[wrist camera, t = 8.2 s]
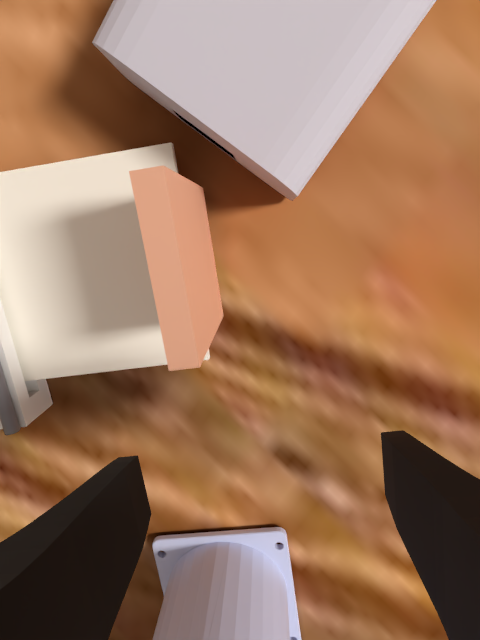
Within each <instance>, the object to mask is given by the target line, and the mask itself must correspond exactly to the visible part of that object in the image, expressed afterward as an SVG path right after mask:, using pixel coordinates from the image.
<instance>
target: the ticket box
mask: <svg viewBox="0 0 480 640" xmlns="http://www.w3.org/2000/svg"><path fill="white" fill-rule="evenodd" d="M51 405H53V402H52V399H51V395H50V391H49V388H48V384H47V381H46V379H40V380H32V381H24V377H23V374H22V370H21V367H20V364H19V360H18V357H17V353H16V350H15V347H14V343H13V340H12V336H11V333H10V330H9V326H8V323H7V319H6V316H5V312H4V309H3V306H2V302H1V299H0V429H3V430H4V433H5V435H11V434H14V433H16V432H18V431H19V430H20V429H21V428H20V427H27V426H28V425H29V424H30V423H31V422H32V421H34V420H35V419H36V418H37V417H38V416H40V415H41V414H42V413H43V412H44V411H45V410H47V409H48V408H49V407H50V406H51Z"/></svg>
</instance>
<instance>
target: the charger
mask: <svg viewBox="0 0 480 640" xmlns="http://www.w3.org/2000/svg"><path fill="white" fill-rule="evenodd" d="M435 2H436V0H113V2H112V4H111V6H110V8H109V10H108V12H107V14H106V16H105V18H104V20H103V22H102V24H101V26H100V28H99V30H98V32H97V34H96V36H95V38H94V40H93V42H92V43H93V44H94V45H95V47H96V48H97V49H98V50H99V51H100V52H101V53H102V54H103V55H104V56H105V57H106V58H107V59H108V60H109V61H110V62H111V63H112V64H113V65H114V66H115V67H116V68H117V69H118V70H119V71H120V72H121V73H122V75H124V76H125V77H126V78H127V79H128V80H129V81H130V82H132V83H133V84H134V85H135V86H137V87H138V88H139V89H141V90H142V91H143V92H144V93H146V94H147V95H148V96H150V97H151V98H152V99H154V100H155V101H156V102H158V103H159V104H160V105H162V106H163V107H164V108H166V109H167V110H168V111H170V112H171V113H172V114H174V115H175V116H176V117H178V116H177V115H176V113H178V114H179V115H180V116H182V117H183V118H184V119H186V120H187V121H188V122H190V123H191V124H193V125H194V126H195V127H197V128H198V129H199V130H201V131H202V132H203V133H205V134H206V135H207V136H209V137H210V138H211V139H213V140H214V141H215V142H217V143H218V144H219V145H221V146H222V147H223V148H225V149H226V150H227V151H229V152H230V153H231V154H233V155H234V157H235V159H236V161H237V162H238V163H240V164H241V165H242V166H244V167H245V168H246V169H248V170H249V171H250V172H252V173H253V174H255V175H256V176H257V177H259V178H260V179H261V180H263V181H264V182H265V183H267V184H268V185H269V186H271V187H272V188H274V189H275V190H276V191H278V192H279V193H281V194H282V195H283V196H285V197H286V198H288V199H290V200H292V201H293V200H294V199H295V198H296V197H297V196H298V195H299V193H300V192H301V191H302V189H303V188H304V186H305V185H306V184H307V182H308V181H309V179H310V178H311V177H312V175H313V174H314V172H315V171H316V169H317V168H318V167H319V165H320V164H321V162H322V161H323V160H324V158H325V157H326V155H327V154H328V153H329V151H330V150H331V148H332V147H333V145H334V144H335V143H336V141H337V140H338V138H339V137H340V136H341V134H342V133H343V131H344V130H345V129H346V127H347V126H348V124H349V123H350V121H351V120H352V119H353V117H354V116H355V114H356V113H357V112H358V110H359V109H360V107H361V106H362V105H363V103H364V102H365V100H366V99H367V97H368V96H369V95H370V93H371V92H372V90H373V89H374V88H375V86H376V85H377V83H378V82H379V81H380V79H381V78H382V76H383V75H384V73H385V72H386V71H387V69H388V68H389V66H390V65H391V64H392V62H393V61H394V59H395V58H396V57H397V55H398V54H399V52H400V51H401V50H402V48H403V47H404V45H405V44H406V42H407V41H408V40H409V38H410V37H411V35H412V34H413V33H414V31H415V30H416V28H417V27H418V26H419V24H420V23H421V21H422V20H423V18H424V17H425V16H426V14H427V13H428V11H429V10H430V9H431V7H432V6H433V4H434V3H435ZM173 110H174V111H175V112H176V113H175V112H174V111H173ZM178 118H179V117H178ZM179 119H180V118H179ZM180 120H181V119H180ZM182 121H183V120H182ZM183 122H184V121H183ZM186 124H187V123H186ZM187 125H188V124H187ZM189 126H190V125H189ZM190 127H191V126H190ZM191 128H192V127H191ZM193 129H194V128H193ZM194 130H195V129H194ZM195 131H196V130H195ZM197 132H198V131H197ZM198 133H199V132H198ZM199 134H200V133H199ZM201 135H202V134H201ZM202 136H203V135H202ZM203 137H204V136H203ZM205 138H206V137H205ZM206 139H207V138H206ZM207 140H208V139H207ZM209 141H210V140H209ZM210 142H211V141H210ZM211 143H212V142H211ZM213 144H214V143H213ZM214 145H215V144H214ZM215 146H216V145H215ZM217 147H218V146H217ZM218 148H219V147H218ZM221 150H222V149H221ZM222 151H223V150H222ZM224 152H225V151H224ZM225 153H226V152H225ZM226 154H227V153H226ZM228 155H229V154H228ZM229 156H230V155H229ZM230 157H231V156H230ZM232 158H233V157H232ZM233 159H234V158H233ZM235 159H234V160H235Z"/></svg>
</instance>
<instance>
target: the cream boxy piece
mask: <svg viewBox="0 0 480 640" xmlns="http://www.w3.org/2000/svg"><path fill="white" fill-rule="evenodd" d="M0 299H1V302H2V306H3V309H4V312H5V316H6V319H7V323H8V326H9V330H10V333H11V336H12V340H13V343H14V347H15V350H16V353H17V357H18V360H19V364H20V367H21V370H22V374H23V377H24V381H32V380H40V379H48V378H57V377H65V376H74V375H82V374H91V373H99V372H108V371H116V370H125V369H133V368H142V367H150V366H159V365H167V364H168V369H169V371H173V370H182V369H191V368H199V367H200V366H201V364H202V362H203V360H209V358H210V354H209V346H210V344H211V342H212V340H213V338H214V336H215V333H216V331H217V329H218V327H219V325H220V322H221V320H222V318H223V310H222V303H221V297H220V291H219V285H218V278H217V272H216V266H215V260H214V253H213V247H212V241H211V235H210V228H209V222H208V216H207V210H206V203H205V197H204V191H203V187H201V186H199V185H197V184H196V183H194V182H192V181H190V180H189V179H187V178H185V177H183V176H181V175H180V174H178V168H177V163H176V157H175V151H174V145H173V143H171V142H170V143H165V144H159V145H153V146H148V147H142V148H136V149H130V150H125V151H119V152H113V153H107V154H102V155H96V156H90V157H85V158H79V159H73V160H67V161H62V162H56V163H50V164H45V165H39V166H33V167H27V168H22V169H16V170H10V171H4V172H0Z"/></svg>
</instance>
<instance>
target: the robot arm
mask: <svg viewBox="0 0 480 640" xmlns="http://www.w3.org/2000/svg"><path fill="white" fill-rule="evenodd" d="M381 440H382V454H383V469H384V483H385V495H386V498H387V501H388V504H389V507H390V510H391V513H392V516H393V519H394V522H395V524H396V527H397V530H398V532H399V534H400V536H401V538H402V540H403V543H404V545H405V547H406V549H407V551H408V553H409V555H410V557H411V559H412V561H413V563H414V565H415V567H416V570H417V572H418V574H419V576H420V578H421V580H422V582H423V584H424V586H425V588H426V590H427V592H428V594H429V596H430V598H431V600H432V602H433V605H434V607H435V609H436V611H437V613H438V615H439V617H440V620H441V622H442V624H443V626H444V629H445V631H446V633H447V636H448V639H449V640H480V479H478V478H476V477H474V476H473V475H471V474H469V473H468V472H466V471H464V470H463V469H461V468H459V467H458V466H456V465H455V464H453V463H451V462H450V461H448V460H447V459H445V458H444V457H442V456H441V455H439V454H438V453H436V452H435V451H433V450H432V449H430V448H429V447H427V446H426V445H424V444H423V443H421V442H420V441H418V440H417V439H416V438H414V437H413V436H411V435H410V434H408V433H406V432H405V431H392V432H382V433H381ZM150 516H151V510H150V506H149V502H148V498H147V493H146V489H145V485H144V480H143V476H142V472H141V467H140V463H139V459H138V456H130V457H119V458H117V459H116V460H114V461H113V462H111V463H110V464H108V465H107V466H106V467H104V468H103V469H102V470H100V471H99V472H98V473H96V474H95V475H94V476H93V477H91V478H90V479H89V480H88V481H86V482H85V483H84V484H82V485H81V486H80V487H79V488H77V489H76V490H75V491H73V492H72V493H71V494H70V495H68V496H67V497H66V498H64V499H63V500H62V501H60V502H59V503H58V504H56V505H55V506H53V507H52V508H51V509H49V510H48V511H47V512H45V513H44V514H42V515H41V516H40V517H38V518H37V519H36V520H34V521H33V522H31V523H30V524H28V525H27V526H26V527H24V528H23V529H21V530H20V531H18V532H16V533H15V534H13V535H12V536H10V537H9V538H7V539H5V540H4V541H2V542H1V543H0V640H108V638H109V635H110V632H111V629H112V627H113V624H114V621H115V619H116V616H117V614H118V611H119V608H120V606H121V603H122V601H123V598H124V596H125V593H126V590H127V588H128V585H129V583H130V580H131V578H132V575H133V572H134V570H135V567H136V565H137V562H138V559H139V557H140V554H141V551H142V548H143V545H144V541H145V537H146V534H147V530H148V525H149V521H150ZM278 542H280V543H282V544H276V543H278ZM152 548H153V552H154V557H155V561H156V565H157V569H158V573H159V578H160V582H161V586H162V590H163V595H164V599H163V603H162V606H161V610H160V614H159V617H158V621H157V625H156V628H155V632H154V636H153V640H301V633H300V626H299V619H298V612H297V604H296V597H295V590H294V583H293V576H292V569H291V562H290V554H289V547H288V540H287V533H286V531H285V530H284V529H283V528H281V527H270V528H257V529H243V530H230V531H216V532H203V533H189V534H176V535H162V536H157V537H156V538H155V539H154V541H153V544H152ZM161 551H164V552H161Z"/></svg>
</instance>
